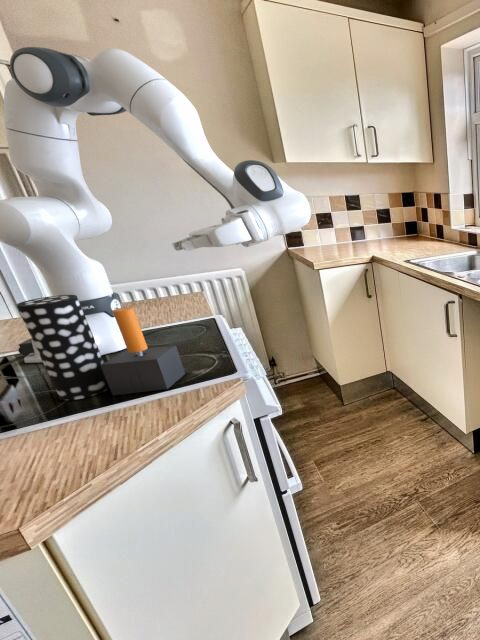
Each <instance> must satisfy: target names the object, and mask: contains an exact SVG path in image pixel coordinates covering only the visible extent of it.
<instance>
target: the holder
mask: <svg viewBox="0 0 480 640" xmlns="http://www.w3.org/2000/svg"><path fill="white" fill-rule="evenodd" d="M142 354H143V356H137V353H136V352H135V353H129V352H128V350H127V349H124V350H123V351H121V352H120V353H117V354H116V355H114V356H112V357H111V358H109V359H108V360H106V361H104V363H103V364H101V365H100V366H101V368H102V371H103V373H104V375H105V378H106V380H107V383H108V385H109V387H110V389H109V390H110V392H111V394H112V396H120V395H129V394H137V393H138V394H139V393H147V392H156V391H162V390H169V388H171V387H173V385H174V384H175V383H176V382H178V381H179V380H180V379H182V377H183V376H185V375H186V372H185V368H184V366H183V363H182V360H181V356H180V353H179V351H178V347H177V346H176V345H166V346H158V347H157V346H156V347H148V348H147V349H146V350H144V351H142Z"/></svg>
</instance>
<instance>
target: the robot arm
mask: <svg viewBox="0 0 480 640" xmlns="http://www.w3.org/2000/svg"><path fill="white" fill-rule="evenodd" d="M9 69H10V70H9V71H10V73H11V76H12V78H11V79H9V80H7V82H6V83H5V85H4V92H3V93H4V94H3V120H4V126H5V128H4V129H5V134H6V140H7V141H6V142H7V146H8V147H7V148H8V152H9V159H10V160H9V161H10V163H11V165H12V166H13V167H14V169H16V170H17V171H19V172H20V173H22V174H23V175H25V176H27V177H29V178H30V180H31V181H32V182H33V184H34V186H35V188H36V190H37V195H35V196H12V197H8V198H4V199H0V243H3V244H5V245H8V246H10V247H12V248H14V249H16V250H18V251H19V252H21V253H22V254H23V255H24V256H26V257H27V258H28V259H29V260H30V261H31V262H32V263H33V264H34V265H35V267H36V268H37V269H38V270H39V271H40V273H41V274H42V276H43V278H44V280H45V283H46V284H47V287H48V289H49V291H50V292H51V293H50V294H51V296H58V295H76V296H77V298H78V300H79V302H80V305H81V307H82V310H83V312H84V315H85V317H86V319H87V322H88V324H89V327H90V329H91V332H92V334H93V337H94V339H95V341H96V344H97V346H98V349H99V351H100V354H101V356H104V355H108V354H111V353H116V352H119V351H122V350H123V351H124V350H127V347H126V345H125V342H124V340H123V337H122V334H121V332H120V329H119V327H118V324H117V321H116V319H115V316H114V314H113V310H115V309H119V308H122V305H121V302H120V300H119V297H118V295H117V293H116V292H114V291H113V288H112V285H111V282H110V280H109V277H108V275H107V272H106V269H105V267H104V265H103V264H102V263H101V262H99V261H98V260H96V259H95V258H91V257H89V256H87V255H86V254H85V253H84V252H83V251H81V249H80V248H79V247H78V245H77V243H76V242H79V241H85V240H91V239H94V238H97V237H99V236H101V235H103V234H105V233H108V232H109V231H110V230H111V228H112V225H113V218H112V214H111V212H110V210H109V209H108V208H107V207H106V205H105V204H104V203H102V202H101V201H100V200H98V199H97V198H96V197H95V196H94V194H93V193H92V192H91V190H90V188H89V186H88V185H87V183H86V180H85V178H84V174H83V169H82V165H81V164H82V162H81V157H80V149H79V148H80V147H79V140H78V139H79V138H78V132H77V119H78V117H79V116H80V115H82V114H85V113H86V114H88V115H89V116H92V117H94V116H96V117H97V116H115V115H119V114H123V113H126V112H128V113H129V114H131V115H132V116H133V117H134V118H135V119H136V120H138V121H139V122H140V123H142V124H143V125H144V126H145V127H146V128H148V129H149V130H150V131H151V132H152V133H153V134H154V135H156V136H157V137H158V138H159V139H160V140H162V142H163V143H165V144H166V145H167V146H168V147H169V148H170V149H171V150H172V151H173V152H174V153H176V154H177V155H178V157H180V158H181V159H182V160H183V162H185V164H187V166H188V167H190V168H191V169H192V170H193V171H194V172H195V173H196V174H198V175H199V177H201V178H202V179H203V180H204V181H205V182H206V183H207V184H209V186H210V187H212V188H213V189H214V190H215V191H216V192H217V193H219V194H220V196H222V197H223V198H224V200H225V201H226V202H227V204H228V205H229V207H230V208H229V209H227V210H225V216H224V217H221V219H220V221H221V223H218V224H214V225H210V226H207V227H204V228H200V229H197V230H193V231H191V232H189V233H188V237H185V238H183V239H181V240H177V241H174V242H172V243H171V245H172V247H173V249H174V251H177V252H178V251H182V250H184V251H186V252H190V251H194V250H196V249H200V248H224V247H228V246H229V247H230V246H234V245H240V244H241V245H242V246H243V247H245V248H249V247H253V246H255V245H259V244H261V243H263V242H268V241H269V240H271V239H272V238H273V237H276V236H284V235H287V234H290V233H293V232H295V231H297V230H301V229H302V228H304V227H305V226H307V225H308V224H309V223H310V221H311V218H312V212H311V211H312V210H311V205H310V202H309V200H308V198H307V197H306V196H305V194H304V193H302V192H301V191H298V190H295V189H294V188H292V187H291V186H289V185H288V184H287V183H286V182H285V181H284V180H282V179H281V177H279V175H278V174H277V173H276V171H275V170H274V169H273V168H272V167H271V166H269V165H268V164H266V162H265V163H264V162H262V161H259V160H253V159H248V160H247V159H246V160H242V161H241V162H239V163H238V164H237V165H236V166H235V167H234V170H232V169H231V168H230V167H228V166H227V165H226V163H224V162H223V161H222V160H221V159H220V158H219V157H218V155H216V154H215V152H214V151H213V149H212V147H211V146H210V143H209V141H208V139H207V137H206V134H205V132H204V129H203V126H202V122H201V119H200V115H199V113H198V110H197V109H196V108H195V106H194V105H193V103H192V102H191V101H190V100H189V99H188V97H187V96H186V95H185V94H184V93H183V92H182V91H181V90H179V89H178V88H177V87H176V86H175V85H174V84H173V83H171V82H170V81H169V80H168V79H167V78H165V77H164V76H163V75H162V74H160V73H159V72H158V71H156V70H155V69H154V68H153V67H151V66H150V65H148V64H147V63H146V62H144V61H142V60H141V59H140V58H138V57H136V56H135V55H133V54H131V53H129V52H127V51H126V50H123V49H121V48H117V47H115V48H112V47H111V48H106V49H103V50H100V51H99V52H98V53H97V54H96V55H95V56H94V57H93V58H92V60H91V59H88V58H86V57H84V56H80V55H77V54H72V53H67V52H62V51H58V50H55V49H51V48H48V47H42V46H41V47H40V46H26V47H25V46H24V47H20V48H19V49H16V50H15V51H14V52H13V53H12V54H11V56H10V60H9ZM18 346H19V347H18V350H17V351H18V353H19V354H21V356H22V355H23V356H24V358H23V362H24V363H25V364H36V363H43V361H42V359H41V357H40V355H39V353H38V351H37V349H36V346H35V344H34V342H33V340H32V338H29V339H28V338H27V339H26V340H24V341H23V342H21V343H19V344H18Z"/></svg>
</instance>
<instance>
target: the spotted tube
mask: <svg viewBox="0 0 480 640" xmlns="http://www.w3.org/2000/svg"><path fill="white" fill-rule="evenodd" d="M15 306H16V308H17V310H18V312H19V314H20V316H21V319H22V321H23V323H24V326H25V327H26V329H27V331H28V334H29V335H30V339H32V340H33V342H34V344H35V346H36V349H37V351H38V353H39V355H40V357H41V359H42V361H43V362H42V364H43V365H44V367H45V368H44V369H45V370H46V372H47V374H48V376H49V379H50V380H51V383H52V385H53V387H54V389H55V392H56V393H57V395H58V398H59V399H60V400H62V401H76V400H81V399H82V400H83V399H85V398H91V397H94V396H96V395H98V394H102V393H104V392H106V391H108V390H110V387H109V385H108V383H107V380H106V378H105V375H104V373H103V371H102V368H101V366H100V365H101V364H103V363H104V362H105V360H104V359H103V355H101V354H100V351H99V349H98V346H97V344H96V341H95V339H94V337H93V334H92V332H91V329H90V327H89V324H88V322H87V319H86V317H85V315H84V312H83V310H82V307H81V305H80V302H79V300H78V298H77V296H76V295H58V296H53V295H50V296H43V297H38V298H33V299H28V300H24V301H20V302H19V303H16V305H15Z"/></svg>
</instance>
